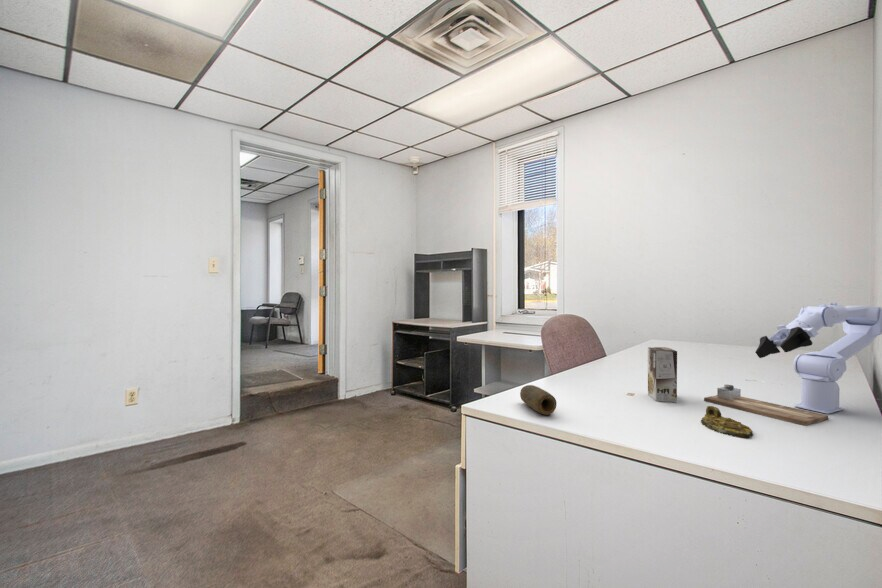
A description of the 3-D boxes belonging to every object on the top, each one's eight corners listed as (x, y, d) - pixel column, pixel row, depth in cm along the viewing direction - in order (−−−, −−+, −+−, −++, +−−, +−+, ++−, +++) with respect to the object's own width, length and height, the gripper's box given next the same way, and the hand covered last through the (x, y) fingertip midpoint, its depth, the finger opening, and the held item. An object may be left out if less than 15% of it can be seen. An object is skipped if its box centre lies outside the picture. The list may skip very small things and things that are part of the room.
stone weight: (561, 416, 115) (561, 392, 115) (538, 418, 113) (538, 394, 113) (536, 401, 130) (536, 380, 130) (516, 403, 128) (516, 382, 128)
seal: (767, 443, 98) (720, 422, 113) (769, 424, 98) (723, 405, 113) (729, 440, 97) (688, 419, 112) (732, 420, 97) (690, 402, 112)
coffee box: (677, 402, 128) (678, 351, 128) (655, 401, 129) (655, 350, 129) (667, 395, 137) (668, 346, 137) (647, 394, 138) (647, 346, 138)
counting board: (726, 396, 135) (727, 393, 135) (828, 419, 111) (828, 415, 111) (704, 400, 130) (704, 397, 130) (804, 425, 106) (805, 421, 106)
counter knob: (727, 395, 131) (727, 383, 131) (740, 398, 128) (740, 386, 128) (717, 397, 129) (717, 384, 129) (730, 400, 126) (731, 387, 126)
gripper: (767, 325, 125) (739, 345, 121) (815, 310, 111) (785, 332, 107) (782, 345, 123) (755, 366, 119) (833, 332, 110) (804, 356, 106)
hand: (770, 352), depth 113 cm, fingers open, 7 cm apart
